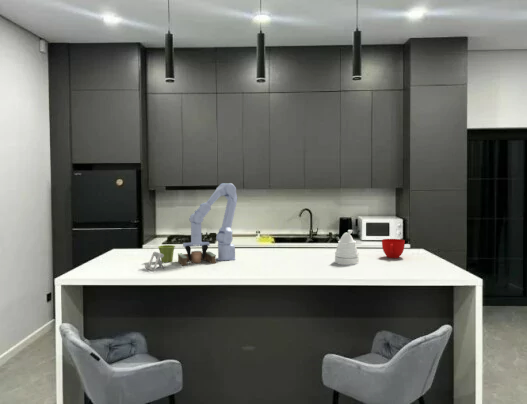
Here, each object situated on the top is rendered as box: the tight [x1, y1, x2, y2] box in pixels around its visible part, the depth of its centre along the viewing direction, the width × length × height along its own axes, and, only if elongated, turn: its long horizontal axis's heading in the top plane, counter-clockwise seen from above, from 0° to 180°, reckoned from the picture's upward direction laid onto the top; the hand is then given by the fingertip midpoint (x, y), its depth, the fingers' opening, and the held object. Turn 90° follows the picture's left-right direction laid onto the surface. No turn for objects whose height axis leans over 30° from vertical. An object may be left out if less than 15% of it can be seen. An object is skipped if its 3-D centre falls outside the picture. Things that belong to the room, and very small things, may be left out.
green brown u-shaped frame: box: [177, 250, 217, 266], centre depth 252 cm, size 18×14×5 cm
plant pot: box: [157, 244, 176, 263], centre depth 255 cm, size 9×9×9 cm
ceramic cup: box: [381, 238, 406, 259], centre depth 264 cm, size 13×17×10 cm
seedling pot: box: [191, 250, 202, 264], centre depth 252 cm, size 6×6×6 cm
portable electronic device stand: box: [144, 251, 165, 272], centre depth 234 cm, size 9×8×8 cm
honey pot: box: [334, 229, 359, 266], centre depth 249 cm, size 13×13×18 cm
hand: (196, 259), depth 252 cm, fingers open, 7 cm apart
